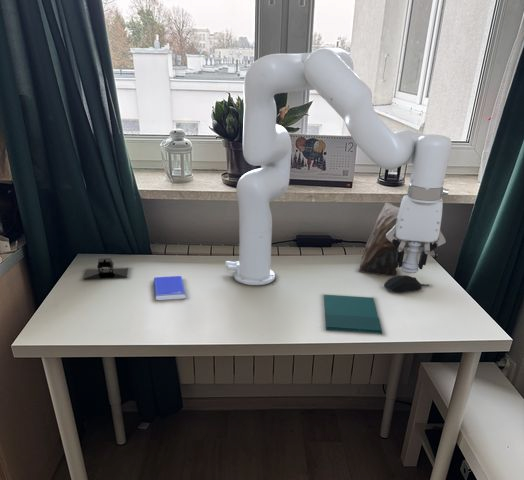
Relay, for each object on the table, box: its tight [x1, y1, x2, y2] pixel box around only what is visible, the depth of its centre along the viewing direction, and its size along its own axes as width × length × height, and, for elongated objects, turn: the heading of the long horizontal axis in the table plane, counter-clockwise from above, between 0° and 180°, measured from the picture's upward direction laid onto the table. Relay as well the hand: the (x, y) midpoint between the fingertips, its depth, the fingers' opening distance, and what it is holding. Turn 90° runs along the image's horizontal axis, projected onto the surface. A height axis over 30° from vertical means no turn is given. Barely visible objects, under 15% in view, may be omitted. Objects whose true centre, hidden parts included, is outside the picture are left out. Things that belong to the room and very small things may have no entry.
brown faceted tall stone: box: [358, 201, 400, 277], centre depth 159 cm, size 13×13×20 cm
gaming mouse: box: [383, 274, 430, 294], centre depth 151 cm, size 6×15×4 cm, turn 106°
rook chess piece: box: [400, 241, 422, 274], centre depth 125 cm, size 4×4×8 cm
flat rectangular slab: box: [323, 294, 383, 334], centre depth 137 cm, size 14×20×1 cm
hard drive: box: [153, 275, 186, 301], centre depth 145 cm, size 2×8×12 cm
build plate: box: [83, 257, 129, 280], centre depth 152 cm, size 12×7×5 cm, turn 100°
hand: (410, 265), depth 127 cm, fingers closed on rook chess piece, 4 cm apart
